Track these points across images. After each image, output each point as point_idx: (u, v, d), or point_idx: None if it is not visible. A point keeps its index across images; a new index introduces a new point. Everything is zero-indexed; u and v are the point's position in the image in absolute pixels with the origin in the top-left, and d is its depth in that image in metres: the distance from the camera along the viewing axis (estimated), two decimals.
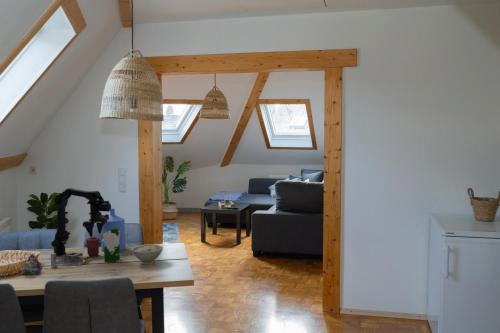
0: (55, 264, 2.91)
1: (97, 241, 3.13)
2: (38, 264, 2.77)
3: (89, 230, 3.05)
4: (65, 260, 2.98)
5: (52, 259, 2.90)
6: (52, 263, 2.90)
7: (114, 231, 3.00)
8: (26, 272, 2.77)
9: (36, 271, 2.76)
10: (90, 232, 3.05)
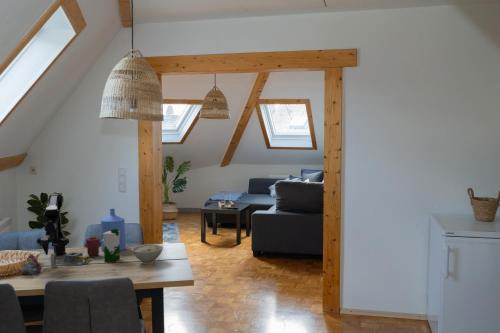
0: (55, 264, 2.91)
1: (97, 241, 3.13)
2: (37, 264, 2.77)
3: None
4: (65, 260, 2.98)
5: (52, 259, 2.90)
6: (52, 263, 2.90)
7: (114, 231, 3.00)
8: (25, 272, 2.77)
9: (35, 271, 2.76)
10: None
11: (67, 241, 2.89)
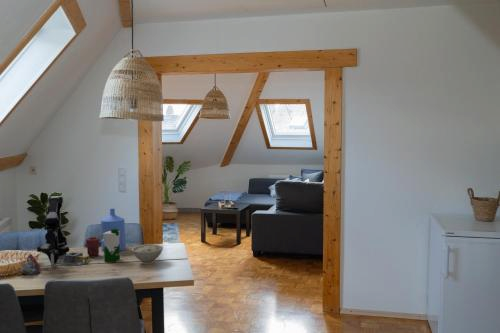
0: (55, 264, 2.91)
1: (97, 241, 3.13)
2: (36, 264, 2.77)
3: None
4: (65, 260, 2.98)
5: (52, 259, 2.90)
6: (52, 263, 2.90)
7: (114, 231, 3.00)
8: (24, 272, 2.77)
9: (34, 271, 2.75)
10: None
11: (67, 249, 2.89)
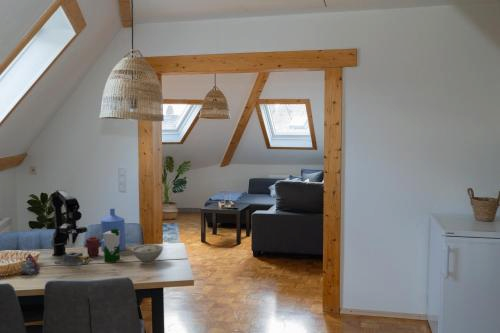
0: (73, 244, 3.00)
1: (97, 241, 3.13)
2: (35, 265, 2.76)
3: None
4: (65, 260, 2.98)
5: (70, 239, 2.99)
6: (70, 243, 2.99)
7: (114, 231, 3.00)
8: (23, 272, 2.76)
9: (33, 272, 2.75)
10: None
11: (85, 229, 2.98)
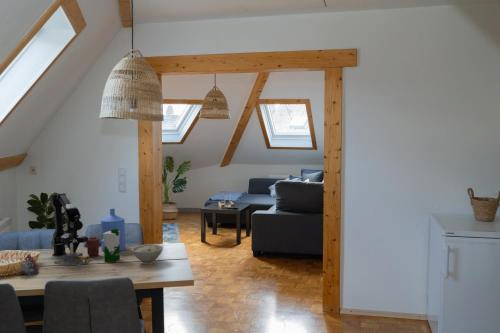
0: (74, 253, 3.01)
1: (97, 241, 3.13)
2: (34, 265, 2.76)
3: None
4: (65, 260, 2.98)
5: (71, 248, 3.00)
6: (71, 252, 3.00)
7: (114, 231, 3.00)
8: (23, 273, 2.76)
9: (32, 272, 2.75)
10: None
11: (86, 239, 2.99)
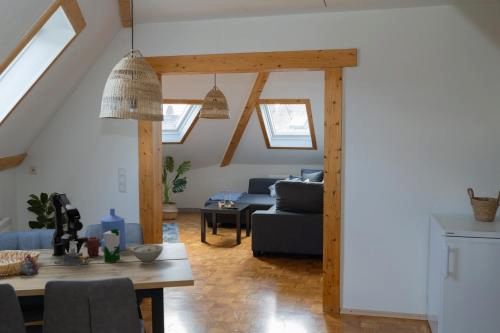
0: None
1: (97, 241, 3.13)
2: (34, 265, 2.76)
3: None
4: (65, 260, 2.98)
5: (71, 253, 3.00)
6: None
7: (114, 231, 3.00)
8: (22, 273, 2.76)
9: (31, 272, 2.74)
10: None
11: (86, 239, 2.99)
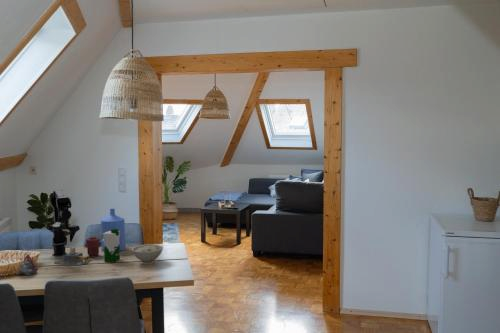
0: None
1: (97, 241, 3.13)
2: (33, 265, 2.75)
3: None
4: (65, 260, 2.98)
5: (71, 253, 3.00)
6: None
7: (114, 231, 3.00)
8: (21, 273, 2.76)
9: (30, 272, 2.74)
10: None
11: (78, 228, 3.00)
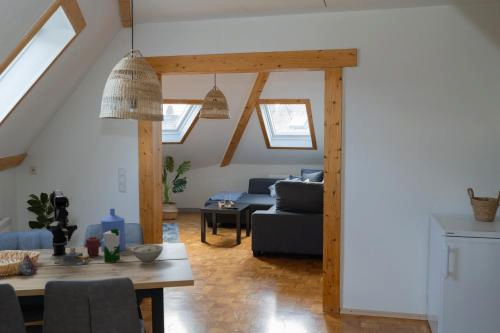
0: None
1: (97, 241, 3.13)
2: (32, 265, 2.75)
3: None
4: (65, 260, 2.98)
5: (71, 253, 3.00)
6: None
7: (114, 231, 3.00)
8: (20, 273, 2.76)
9: (29, 272, 2.74)
10: None
11: (75, 227, 3.00)
